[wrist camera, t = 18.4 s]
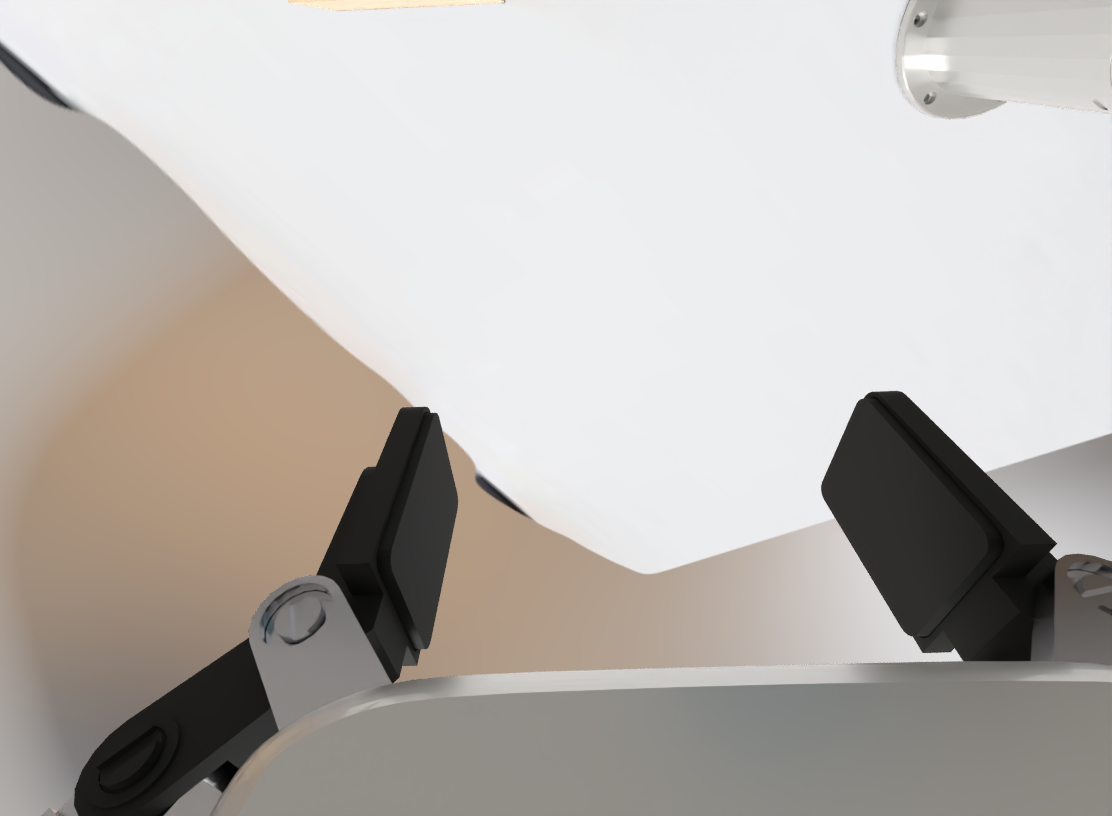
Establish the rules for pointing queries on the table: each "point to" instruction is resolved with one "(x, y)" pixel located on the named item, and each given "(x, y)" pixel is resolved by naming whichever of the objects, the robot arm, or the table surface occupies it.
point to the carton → (385, 3)
